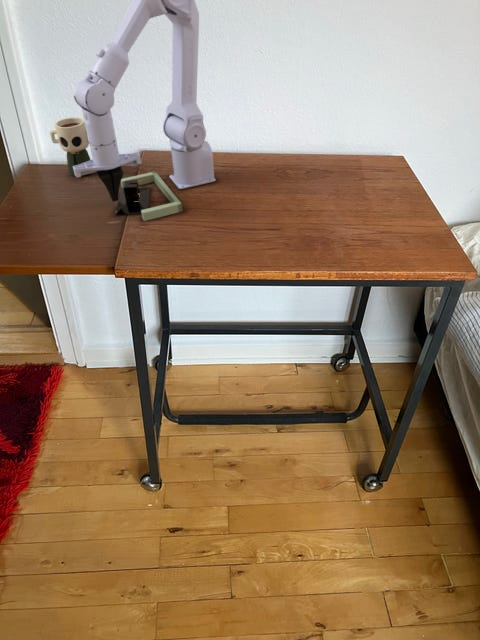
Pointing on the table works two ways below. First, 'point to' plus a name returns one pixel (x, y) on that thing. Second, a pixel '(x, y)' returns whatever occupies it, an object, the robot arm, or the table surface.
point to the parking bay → (166, 208)
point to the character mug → (72, 140)
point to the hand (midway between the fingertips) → (114, 199)
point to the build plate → (132, 199)
